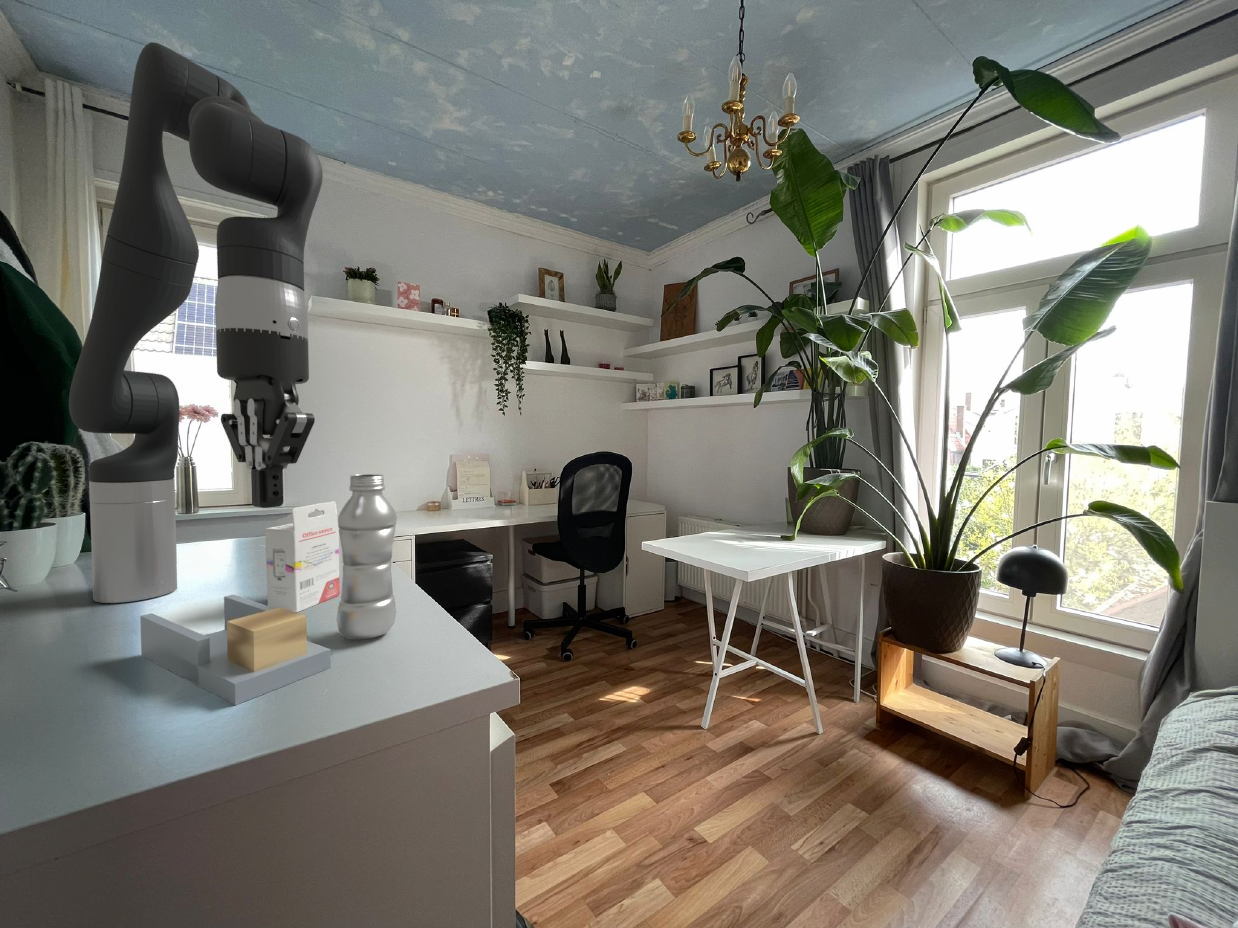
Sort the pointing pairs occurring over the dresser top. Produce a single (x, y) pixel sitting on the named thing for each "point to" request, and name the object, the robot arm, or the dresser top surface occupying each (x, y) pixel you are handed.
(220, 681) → the grey angular piece
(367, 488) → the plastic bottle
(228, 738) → the dresser top surface
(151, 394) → the robot arm
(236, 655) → the oak block
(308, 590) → the ink cartridge box
